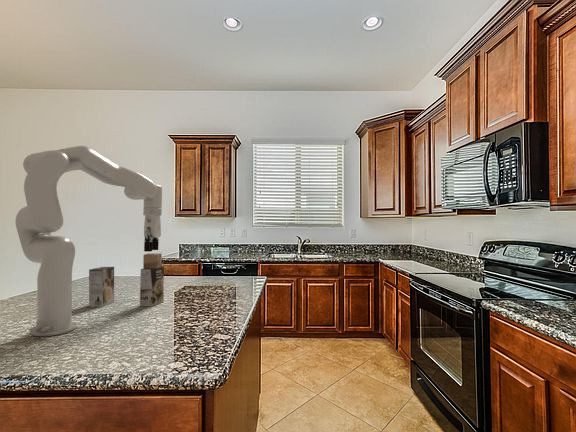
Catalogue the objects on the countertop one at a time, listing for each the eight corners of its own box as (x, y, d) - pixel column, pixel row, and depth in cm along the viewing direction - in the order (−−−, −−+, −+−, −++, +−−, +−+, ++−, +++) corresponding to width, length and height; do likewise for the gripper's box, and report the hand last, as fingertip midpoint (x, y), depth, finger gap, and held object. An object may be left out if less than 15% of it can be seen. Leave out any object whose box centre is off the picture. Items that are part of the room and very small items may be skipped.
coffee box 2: (153, 306, 143) (153, 269, 143) (139, 306, 144) (139, 268, 144) (164, 301, 152) (164, 266, 152) (151, 301, 153) (151, 266, 153)
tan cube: (157, 268, 146) (157, 254, 146) (143, 268, 145) (143, 254, 145) (161, 266, 152) (161, 253, 152) (147, 266, 151) (147, 253, 151)
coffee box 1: (100, 301, 152) (101, 266, 152) (114, 301, 152) (114, 266, 152) (88, 306, 143) (88, 269, 143) (103, 306, 143) (103, 269, 143)
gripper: (155, 211, 140) (154, 252, 140) (166, 213, 158) (165, 249, 157) (137, 211, 140) (136, 252, 139) (149, 213, 157) (148, 249, 156)
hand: (151, 250), depth 148 cm, fingers open, 9 cm apart
